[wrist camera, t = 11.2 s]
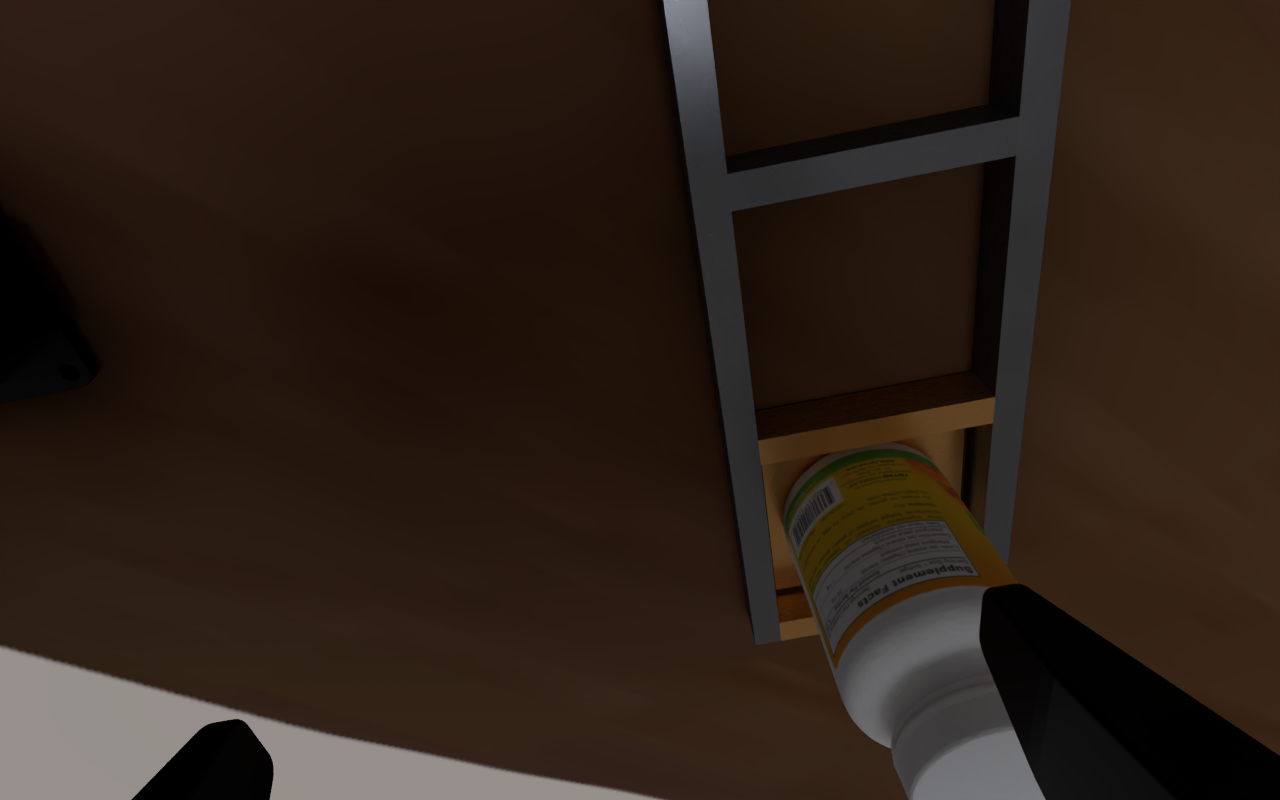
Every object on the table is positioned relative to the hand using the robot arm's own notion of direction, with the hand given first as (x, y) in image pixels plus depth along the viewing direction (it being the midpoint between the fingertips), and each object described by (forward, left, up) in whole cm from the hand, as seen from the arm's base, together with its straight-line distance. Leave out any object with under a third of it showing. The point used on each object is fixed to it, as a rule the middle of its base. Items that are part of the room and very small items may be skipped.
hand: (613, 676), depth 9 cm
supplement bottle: (+7, -10, -13) cm, 18 cm away
